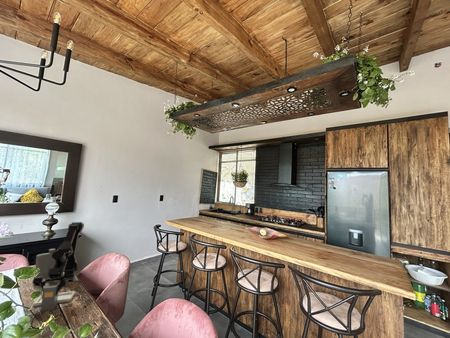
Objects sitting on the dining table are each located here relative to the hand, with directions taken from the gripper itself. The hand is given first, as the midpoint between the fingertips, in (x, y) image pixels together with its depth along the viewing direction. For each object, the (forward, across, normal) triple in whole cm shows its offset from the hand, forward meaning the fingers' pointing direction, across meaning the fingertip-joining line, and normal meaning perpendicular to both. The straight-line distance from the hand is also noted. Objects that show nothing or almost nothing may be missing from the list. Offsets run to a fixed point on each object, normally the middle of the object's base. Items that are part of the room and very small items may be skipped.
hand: (49, 296), depth 110 cm
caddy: (+4, 0, +6) cm, 7 cm away
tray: (-2, 0, +11) cm, 11 cm away
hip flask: (-24, -13, +34) cm, 43 cm away
